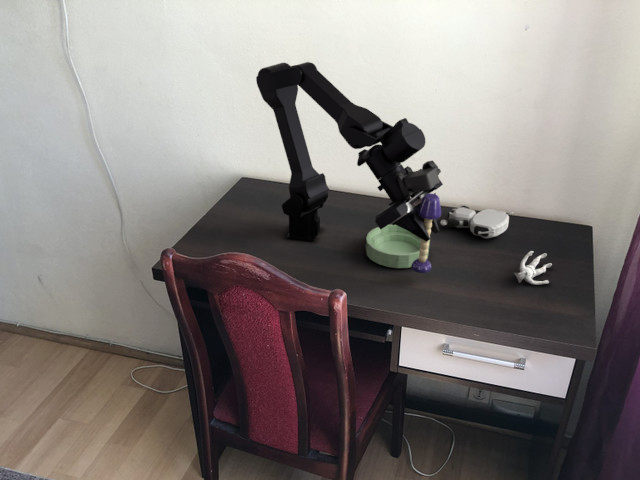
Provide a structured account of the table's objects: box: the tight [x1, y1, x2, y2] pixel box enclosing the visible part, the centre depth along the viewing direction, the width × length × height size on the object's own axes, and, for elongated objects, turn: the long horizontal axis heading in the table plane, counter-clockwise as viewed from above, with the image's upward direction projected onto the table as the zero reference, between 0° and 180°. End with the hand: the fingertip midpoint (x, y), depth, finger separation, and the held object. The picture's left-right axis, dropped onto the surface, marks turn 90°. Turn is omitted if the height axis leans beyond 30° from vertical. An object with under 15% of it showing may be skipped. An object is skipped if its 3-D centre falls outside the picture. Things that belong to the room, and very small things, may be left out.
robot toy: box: [440, 205, 515, 239], centre depth 167 cm, size 12×4×15 cm
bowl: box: [365, 224, 431, 269], centre depth 157 cm, size 14×14×4 cm
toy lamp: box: [410, 193, 442, 274], centre depth 141 cm, size 5×5×17 cm
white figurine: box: [513, 250, 553, 286], centre depth 149 cm, size 8×5×12 cm
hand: (432, 236), depth 141 cm, fingers closed on toy lamp, 4 cm apart
